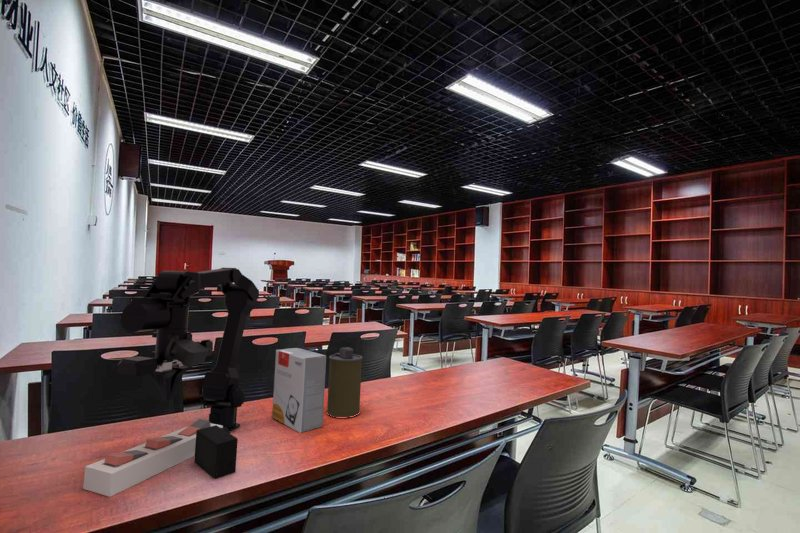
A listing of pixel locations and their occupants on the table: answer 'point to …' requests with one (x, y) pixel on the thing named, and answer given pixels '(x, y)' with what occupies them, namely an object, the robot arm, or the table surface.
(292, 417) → the hard drive box
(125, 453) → the rocker
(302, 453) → the table surface
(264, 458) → the table surface
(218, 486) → the table surface
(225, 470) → the black cubic block
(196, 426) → the rocker
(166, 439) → the rocker
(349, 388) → the canister
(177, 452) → the rocker switch panel
